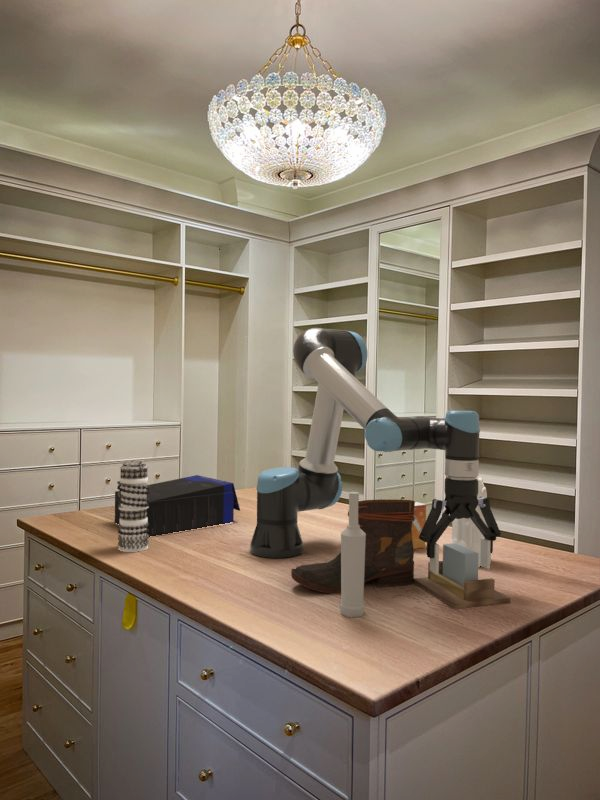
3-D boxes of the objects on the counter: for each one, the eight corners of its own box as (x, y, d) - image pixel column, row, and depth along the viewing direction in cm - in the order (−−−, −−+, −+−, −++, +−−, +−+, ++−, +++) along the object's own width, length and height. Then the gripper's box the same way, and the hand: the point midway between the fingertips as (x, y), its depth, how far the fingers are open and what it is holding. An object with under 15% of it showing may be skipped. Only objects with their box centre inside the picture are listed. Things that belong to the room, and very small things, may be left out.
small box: (405, 551, 172) (406, 506, 172) (391, 546, 177) (391, 503, 177) (426, 547, 176) (426, 503, 176) (410, 543, 182) (411, 500, 181)
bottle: (337, 608, 126) (339, 490, 125) (362, 608, 126) (363, 490, 126) (341, 617, 121) (343, 494, 120) (366, 617, 121) (368, 494, 121)
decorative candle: (110, 548, 171) (111, 461, 171) (138, 542, 178) (139, 459, 177) (127, 554, 165) (128, 464, 164) (156, 548, 172) (156, 461, 171)
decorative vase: (491, 558, 166) (492, 468, 165) (490, 569, 156) (491, 473, 155) (451, 554, 169) (452, 466, 169) (447, 564, 159) (449, 471, 159)
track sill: (455, 608, 126) (455, 585, 126) (413, 582, 143) (413, 562, 143) (510, 602, 131) (510, 579, 131) (463, 577, 148) (463, 557, 148)
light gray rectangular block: (464, 594, 132) (465, 554, 132) (442, 582, 141) (443, 544, 141) (477, 593, 134) (478, 553, 133) (455, 580, 142) (456, 543, 142)
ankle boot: (284, 581, 144) (285, 498, 143) (401, 572, 152) (402, 494, 152) (297, 597, 133) (298, 507, 132) (422, 586, 141) (423, 502, 141)
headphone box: (240, 523, 207) (241, 482, 206) (147, 538, 184) (147, 492, 184) (203, 511, 225) (203, 474, 225) (114, 524, 202) (114, 482, 202)
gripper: (421, 481, 129) (420, 579, 130) (517, 478, 137) (515, 569, 137) (405, 477, 136) (403, 569, 137) (497, 473, 144) (495, 560, 145)
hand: (459, 569), depth 137 cm, fingers open, 13 cm apart
